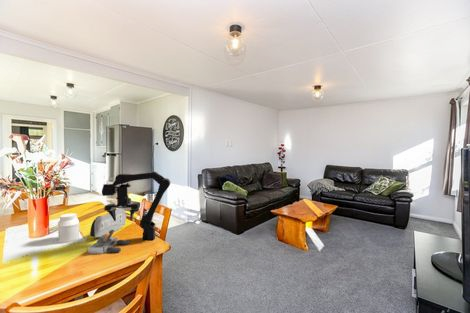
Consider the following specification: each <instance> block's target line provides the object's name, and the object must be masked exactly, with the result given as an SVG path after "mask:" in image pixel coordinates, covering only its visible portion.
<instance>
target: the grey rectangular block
mask: <svg viewBox="0 0 470 313" xmlns="http://www.w3.org/2000/svg"><path fill="white" fill-rule="evenodd" d="M109 233H110V235H109V236H108V238H107V239H109V238H112V235H113V234H114V233H115V232H114V230H111V231H110V232H109Z"/></svg>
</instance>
